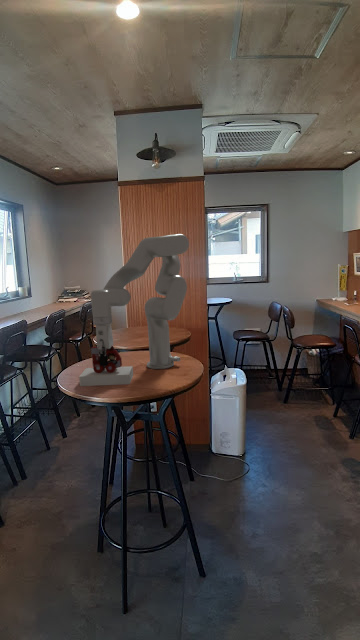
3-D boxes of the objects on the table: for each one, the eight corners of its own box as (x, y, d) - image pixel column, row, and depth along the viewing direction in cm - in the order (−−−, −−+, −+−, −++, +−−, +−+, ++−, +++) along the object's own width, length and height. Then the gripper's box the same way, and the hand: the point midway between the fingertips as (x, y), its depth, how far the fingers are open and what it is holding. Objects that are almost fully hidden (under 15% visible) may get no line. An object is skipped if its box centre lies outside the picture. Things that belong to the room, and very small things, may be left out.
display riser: (133, 375, 159) (132, 366, 158) (129, 384, 148) (129, 374, 147) (86, 377, 159) (86, 368, 158) (80, 386, 148) (79, 376, 148)
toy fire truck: (119, 372, 149) (117, 347, 147) (89, 373, 150) (87, 348, 149) (123, 367, 156) (121, 343, 154) (95, 368, 157) (93, 344, 156)
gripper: (107, 324, 140) (111, 368, 144) (115, 316, 158) (118, 356, 161) (87, 325, 141) (92, 369, 144) (98, 317, 158) (101, 356, 161)
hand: (106, 362), depth 152 cm, fingers open, 8 cm apart
